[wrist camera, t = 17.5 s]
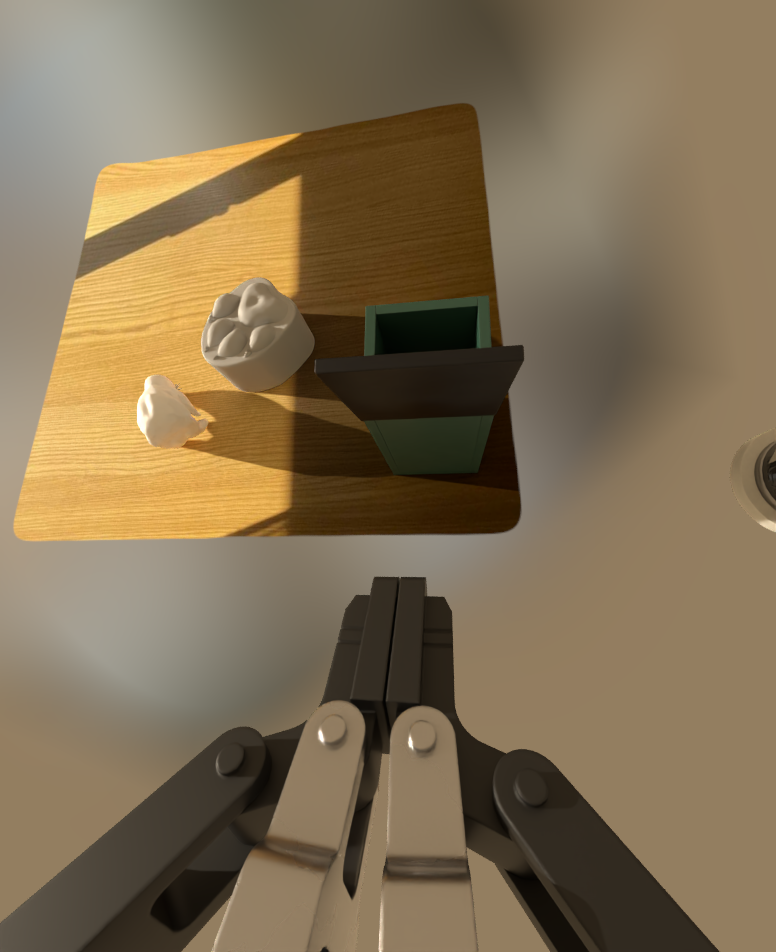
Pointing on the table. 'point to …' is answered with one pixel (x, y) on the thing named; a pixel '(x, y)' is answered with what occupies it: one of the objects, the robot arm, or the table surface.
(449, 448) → the green box
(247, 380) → the lumpy-topped squat cylinder
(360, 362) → the box lid
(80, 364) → the table surface
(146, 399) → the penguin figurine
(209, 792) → the robot arm
